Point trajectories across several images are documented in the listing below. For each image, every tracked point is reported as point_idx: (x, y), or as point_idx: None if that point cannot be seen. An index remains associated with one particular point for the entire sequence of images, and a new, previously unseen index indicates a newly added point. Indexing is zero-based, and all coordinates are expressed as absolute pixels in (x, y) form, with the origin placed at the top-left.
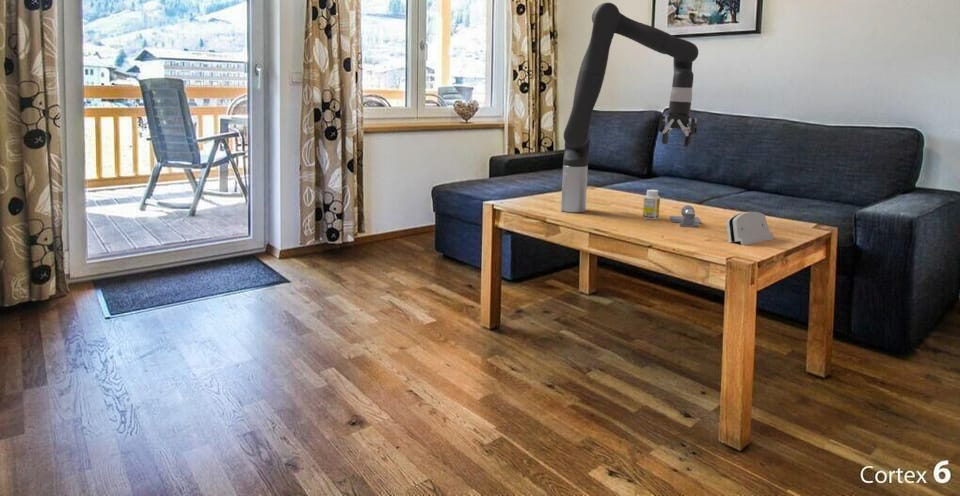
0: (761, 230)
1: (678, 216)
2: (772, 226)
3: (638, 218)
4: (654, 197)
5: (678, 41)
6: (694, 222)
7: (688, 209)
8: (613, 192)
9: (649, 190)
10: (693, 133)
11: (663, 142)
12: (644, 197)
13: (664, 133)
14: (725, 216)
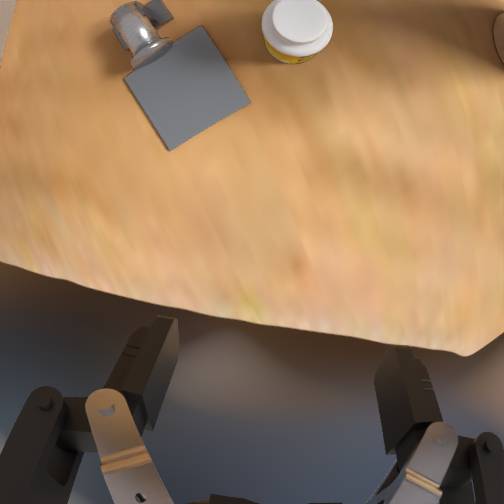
0: None
1: (220, 112)
2: (16, 191)
3: None
4: (274, 2)
5: None
6: None
7: (131, 23)
8: (485, 342)
9: (312, 10)
10: (31, 397)
11: (406, 351)
12: (323, 6)
13: (429, 426)
14: (127, 229)
